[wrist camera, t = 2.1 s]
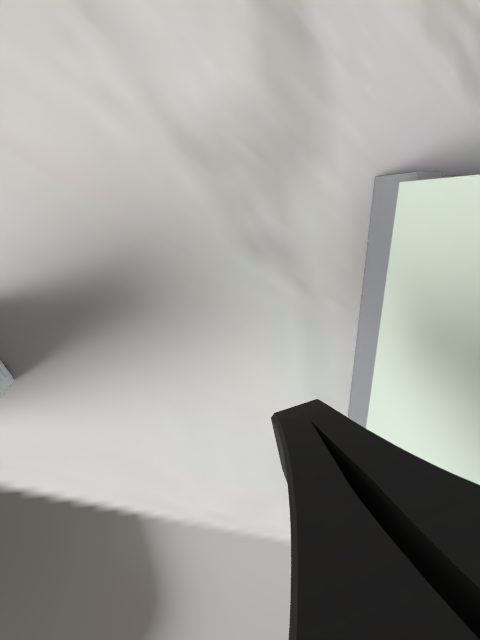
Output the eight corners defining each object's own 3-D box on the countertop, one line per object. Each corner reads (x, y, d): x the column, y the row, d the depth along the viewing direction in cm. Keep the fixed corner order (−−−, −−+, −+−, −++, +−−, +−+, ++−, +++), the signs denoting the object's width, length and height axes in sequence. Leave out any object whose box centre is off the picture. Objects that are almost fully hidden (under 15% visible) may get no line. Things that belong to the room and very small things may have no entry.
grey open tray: (500, 177, 18) (560, 173, 16) (449, 401, 23) (488, 428, 20) (375, 176, 17) (417, 171, 14) (348, 416, 21) (375, 448, 19)
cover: (627, 163, 7) (596, 163, 7) (485, 585, 12) (464, 588, 12) (417, 181, 14) (399, 182, 14) (377, 443, 18) (363, 445, 18)
